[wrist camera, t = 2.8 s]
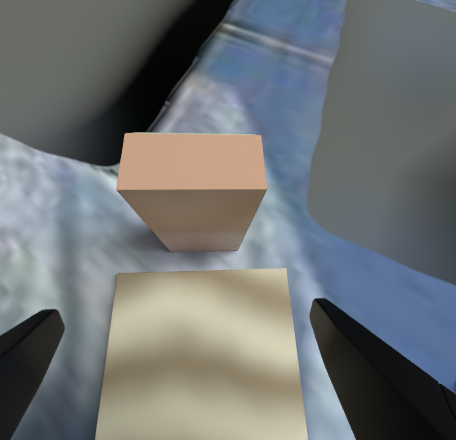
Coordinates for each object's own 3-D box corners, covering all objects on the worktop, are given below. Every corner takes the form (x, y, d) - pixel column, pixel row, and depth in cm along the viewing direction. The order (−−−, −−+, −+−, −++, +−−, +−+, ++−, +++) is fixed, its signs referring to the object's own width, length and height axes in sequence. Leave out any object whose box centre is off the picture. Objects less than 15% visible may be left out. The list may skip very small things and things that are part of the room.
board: (311, 499, 15) (317, 512, 14) (90, 523, 14) (81, 538, 13) (282, 269, 21) (286, 268, 20) (122, 274, 20) (117, 273, 19)
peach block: (237, 250, 21) (267, 189, 10) (170, 252, 21) (116, 189, 9) (236, 219, 22) (260, 130, 11) (172, 220, 22) (125, 128, 10)
